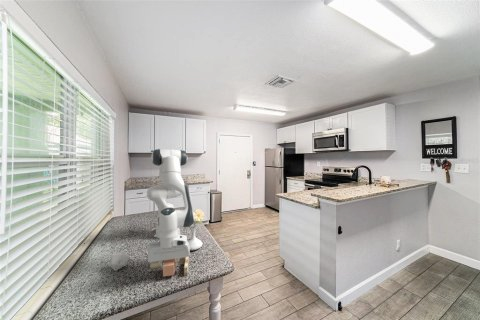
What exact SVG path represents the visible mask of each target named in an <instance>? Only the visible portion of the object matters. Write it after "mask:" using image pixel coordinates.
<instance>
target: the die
mask: <svg viewBox="0 0 480 320" xmlns="http://www.w3.org/2000/svg"><path fill="white" fill-rule="evenodd" d="M129 258H130V255H129V254H128V253H126V252H125V251H124V250H119V251H118V252H116V253H113V254H111V257H110V259H109V262H108V266H109V267H110V268H111V269H112V270H113V271H114V272H116V271H119V270H120V268H121V269H122V267H123V268H124V266H125V267H126V266H127V265H128V262H129ZM118 269H119V270H118Z"/></svg>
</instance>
